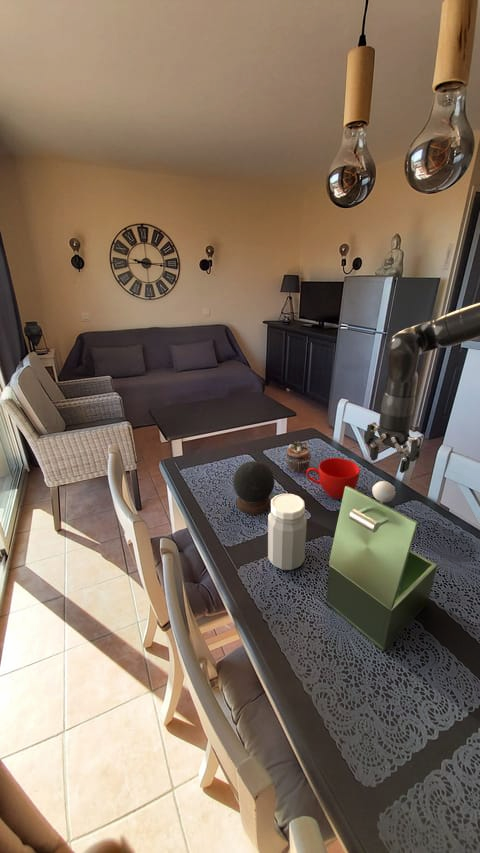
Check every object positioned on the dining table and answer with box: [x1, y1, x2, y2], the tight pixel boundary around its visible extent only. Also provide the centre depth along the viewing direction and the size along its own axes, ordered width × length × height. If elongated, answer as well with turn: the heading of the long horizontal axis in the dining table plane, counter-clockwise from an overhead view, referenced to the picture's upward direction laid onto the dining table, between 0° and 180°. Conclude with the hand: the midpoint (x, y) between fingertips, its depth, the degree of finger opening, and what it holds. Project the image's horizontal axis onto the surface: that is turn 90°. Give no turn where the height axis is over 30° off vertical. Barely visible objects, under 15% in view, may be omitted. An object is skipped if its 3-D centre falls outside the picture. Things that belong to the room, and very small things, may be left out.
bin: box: [325, 549, 438, 653], centre depth 80 cm, size 18×15×12 cm
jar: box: [267, 493, 308, 571], centre depth 92 cm, size 10×10×18 cm
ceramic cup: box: [305, 457, 361, 500], centre depth 120 cm, size 13×17×10 cm
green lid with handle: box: [328, 486, 419, 609], centre depth 68 cm, size 19×15×5 cm
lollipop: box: [371, 480, 396, 504], centre depth 103 cm, size 6×6×15 cm
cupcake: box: [285, 440, 312, 473], centre depth 136 cm, size 10×10×10 cm
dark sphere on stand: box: [232, 460, 275, 515], centre depth 115 cm, size 13×13×15 cm
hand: (387, 465), depth 98 cm, fingers open, 8 cm apart
